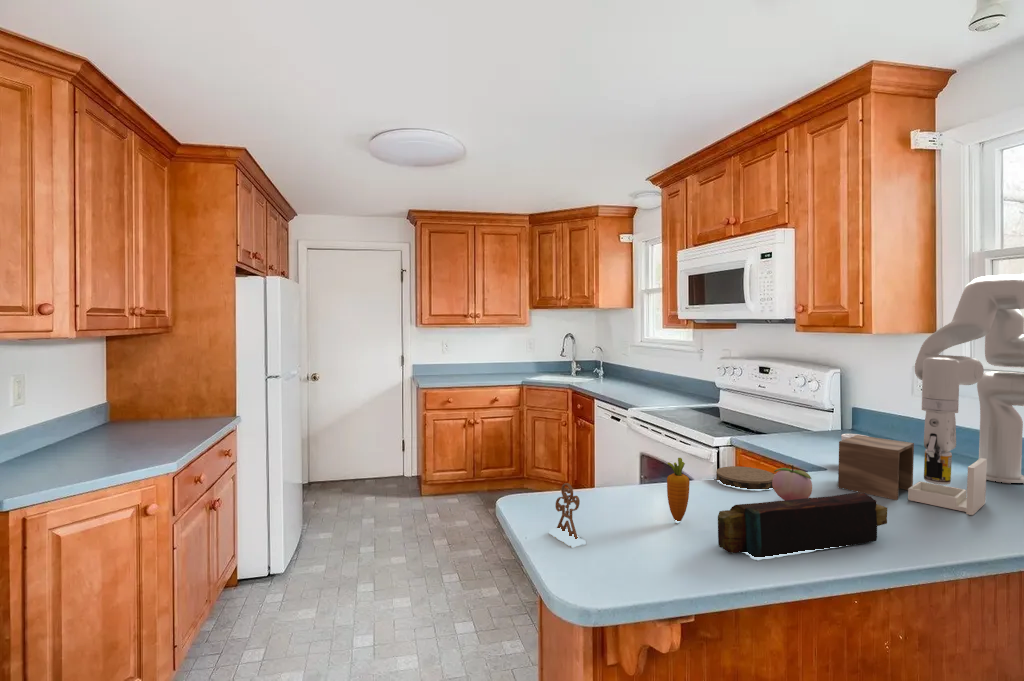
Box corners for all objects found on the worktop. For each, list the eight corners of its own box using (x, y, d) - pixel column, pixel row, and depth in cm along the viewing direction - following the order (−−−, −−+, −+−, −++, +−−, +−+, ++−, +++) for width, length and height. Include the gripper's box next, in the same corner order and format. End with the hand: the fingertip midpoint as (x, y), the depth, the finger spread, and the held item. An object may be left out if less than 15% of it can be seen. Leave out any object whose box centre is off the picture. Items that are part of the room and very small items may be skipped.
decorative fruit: (817, 504, 142) (818, 465, 142) (807, 512, 136) (808, 471, 136) (778, 496, 148) (778, 459, 148) (767, 504, 142) (768, 465, 142)
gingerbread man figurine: (548, 533, 122) (548, 479, 122) (562, 530, 124) (562, 477, 124) (571, 548, 115) (572, 490, 114) (587, 544, 117) (587, 487, 116)
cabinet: (856, 478, 165) (857, 435, 164) (912, 489, 154) (913, 443, 154) (838, 487, 156) (839, 441, 156) (896, 500, 145) (898, 450, 145)
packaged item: (853, 526, 128) (854, 483, 127) (893, 542, 118) (894, 496, 118) (705, 545, 117) (705, 498, 116) (736, 565, 107) (737, 513, 107)
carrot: (677, 528, 125) (678, 462, 125) (661, 521, 130) (662, 457, 129) (693, 525, 128) (694, 460, 127) (677, 518, 132) (678, 455, 131)
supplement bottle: (919, 481, 145) (921, 442, 145) (929, 478, 148) (930, 439, 148) (945, 486, 140) (946, 446, 140) (954, 483, 143) (955, 443, 143)
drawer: (921, 490, 153) (922, 449, 152) (985, 503, 142) (986, 458, 142) (905, 501, 144) (907, 457, 143) (972, 515, 134) (974, 468, 133)
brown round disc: (760, 496, 150) (760, 485, 150) (705, 483, 162) (705, 472, 162) (785, 484, 160) (785, 474, 160) (732, 473, 172) (732, 463, 172)
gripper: (949, 410, 135) (946, 484, 136) (966, 404, 146) (964, 472, 147) (912, 406, 141) (910, 478, 142) (931, 400, 152) (929, 466, 153)
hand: (937, 474), depth 144 cm, fingers closed on supplement bottle, 5 cm apart
